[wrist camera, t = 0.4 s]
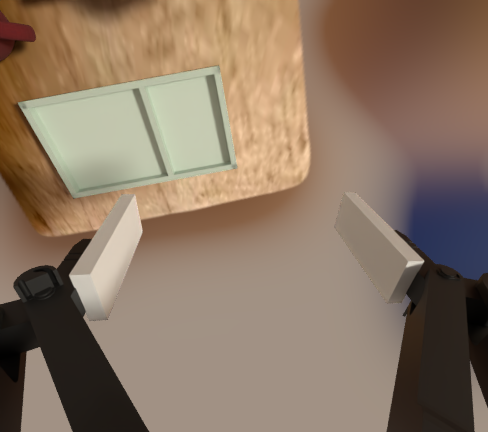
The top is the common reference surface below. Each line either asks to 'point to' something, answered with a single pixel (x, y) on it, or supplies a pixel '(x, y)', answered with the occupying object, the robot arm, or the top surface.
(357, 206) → the robot arm
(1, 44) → the mug
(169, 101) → the jig
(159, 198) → the top surface
